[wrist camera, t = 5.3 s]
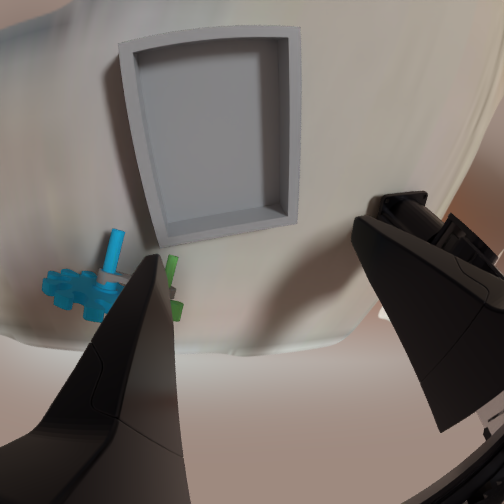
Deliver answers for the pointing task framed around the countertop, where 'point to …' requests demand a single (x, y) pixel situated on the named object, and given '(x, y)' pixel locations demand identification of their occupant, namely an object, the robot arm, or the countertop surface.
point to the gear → (100, 284)
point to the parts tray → (216, 128)
